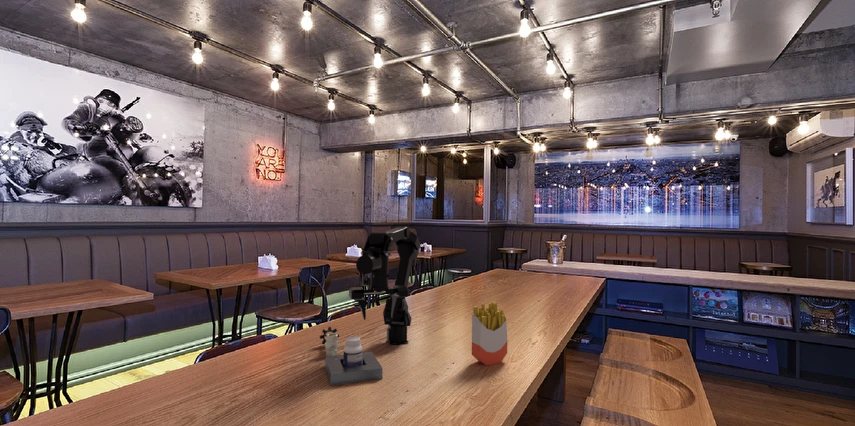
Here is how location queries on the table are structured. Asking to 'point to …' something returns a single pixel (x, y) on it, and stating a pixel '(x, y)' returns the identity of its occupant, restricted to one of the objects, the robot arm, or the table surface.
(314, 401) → the table surface
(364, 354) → the holder
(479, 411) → the table surface
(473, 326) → the french fries container
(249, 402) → the table surface
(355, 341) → the pill bottle
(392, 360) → the table surface
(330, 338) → the valve
